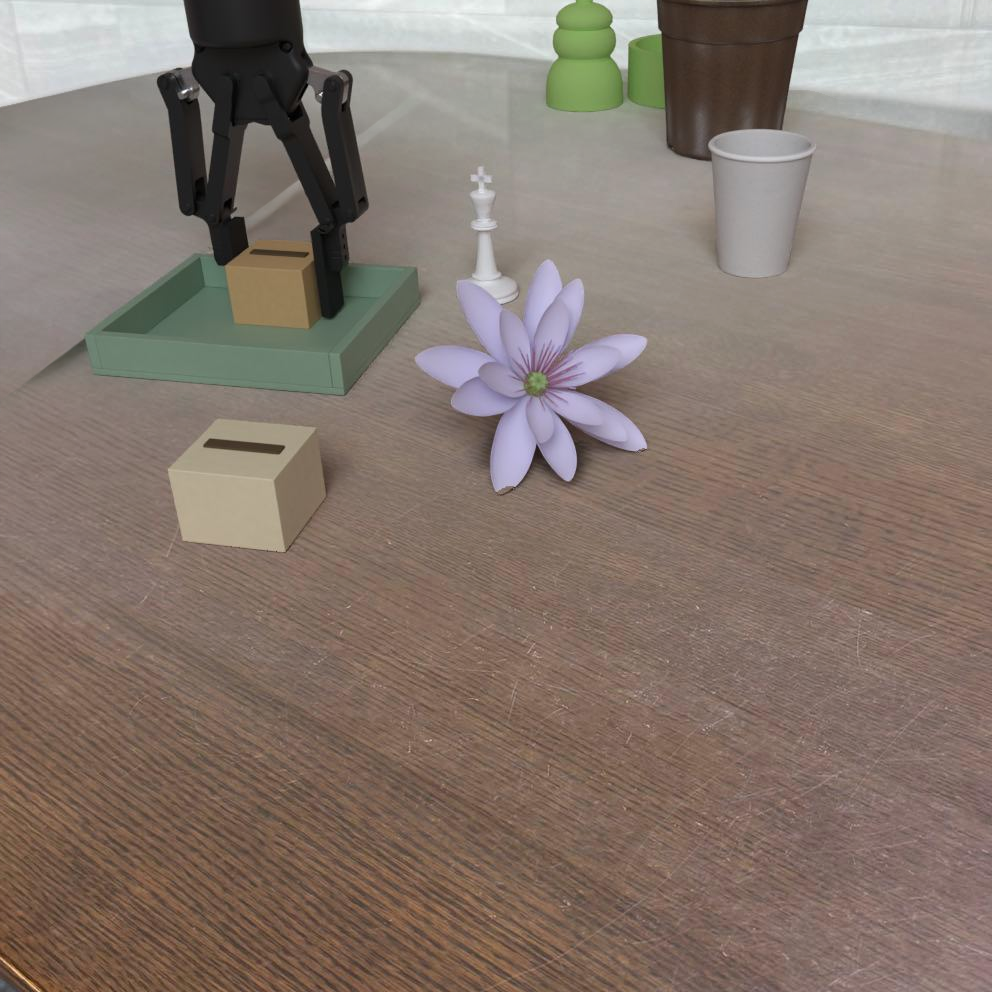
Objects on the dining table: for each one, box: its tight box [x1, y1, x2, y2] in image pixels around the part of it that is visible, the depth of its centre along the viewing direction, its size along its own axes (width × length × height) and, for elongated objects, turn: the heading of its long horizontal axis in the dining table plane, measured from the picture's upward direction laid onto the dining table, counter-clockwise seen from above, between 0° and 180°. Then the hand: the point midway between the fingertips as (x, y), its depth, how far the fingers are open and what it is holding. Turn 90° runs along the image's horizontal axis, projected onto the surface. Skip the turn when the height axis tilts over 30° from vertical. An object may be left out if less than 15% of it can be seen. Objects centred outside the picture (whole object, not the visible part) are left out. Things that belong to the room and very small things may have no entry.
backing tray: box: [83, 252, 421, 396], centre depth 88 cm, size 19×17×3 cm
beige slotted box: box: [167, 418, 327, 553], centre depth 66 cm, size 6×6×5 cm
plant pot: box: [656, 0, 809, 162], centre depth 125 cm, size 16×16×16 cm
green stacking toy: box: [545, 0, 665, 113], centre depth 146 cm, size 25×15×13 cm, turn 101°
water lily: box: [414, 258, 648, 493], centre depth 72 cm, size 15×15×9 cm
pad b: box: [225, 238, 322, 329], centre depth 90 cm, size 6×6×5 cm
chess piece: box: [455, 165, 520, 305], centre depth 92 cm, size 5×5×10 cm
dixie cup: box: [708, 129, 818, 279], centre depth 96 cm, size 8×8×10 cm
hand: (289, 307), depth 91 cm, fingers open, 6 cm apart
